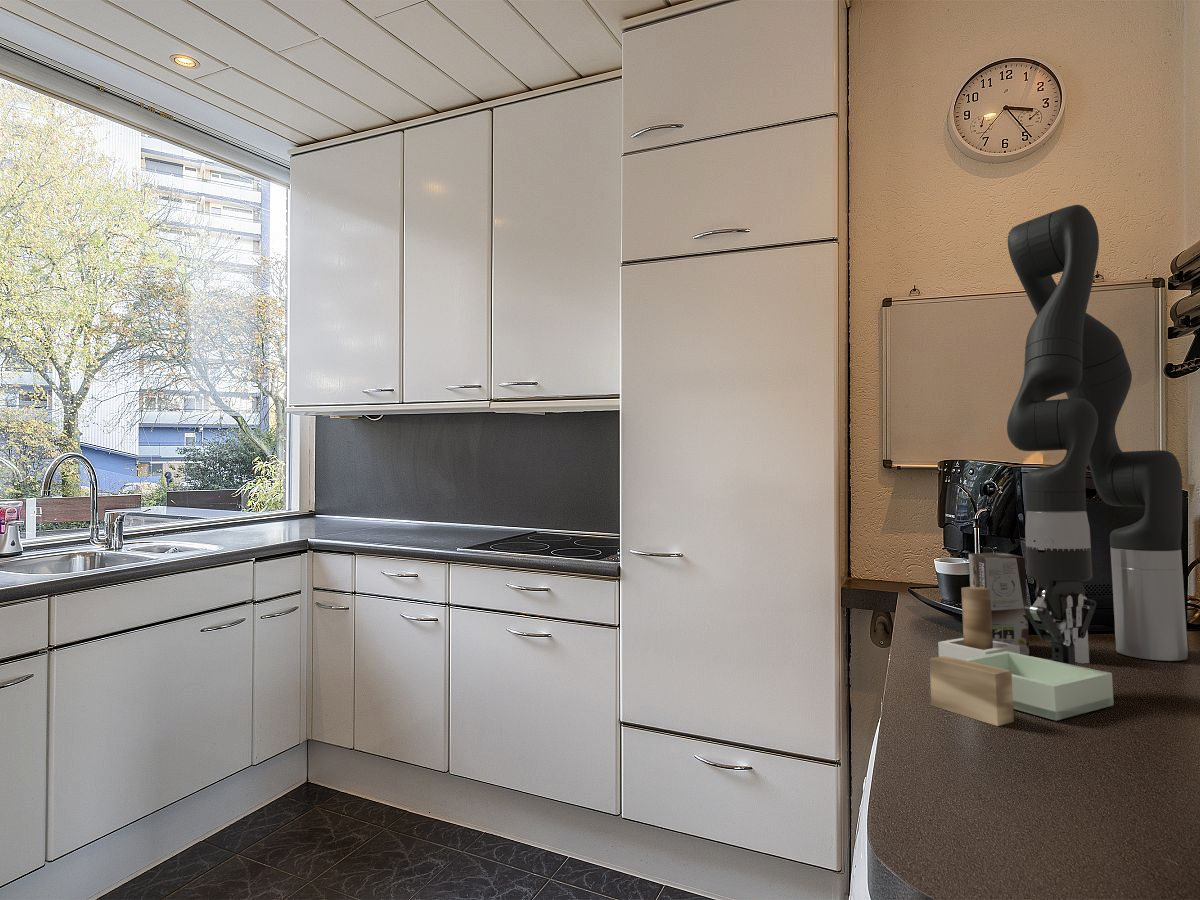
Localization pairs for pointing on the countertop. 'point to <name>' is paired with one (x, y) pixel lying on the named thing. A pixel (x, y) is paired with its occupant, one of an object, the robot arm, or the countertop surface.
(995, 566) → the coffee box
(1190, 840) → the countertop surface
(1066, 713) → the tray
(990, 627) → the dowel
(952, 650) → the socket block
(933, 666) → the rectangular wooden block
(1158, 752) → the countertop surface
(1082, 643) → the white gable carton
